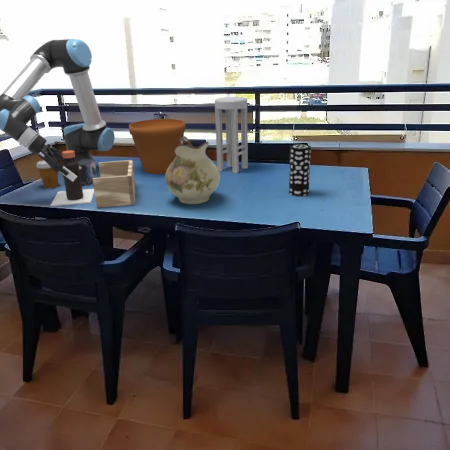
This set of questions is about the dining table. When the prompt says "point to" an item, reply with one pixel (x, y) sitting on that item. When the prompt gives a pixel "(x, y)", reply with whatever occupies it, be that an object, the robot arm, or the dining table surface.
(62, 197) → the mat
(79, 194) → the vinegar
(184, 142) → the pitcher
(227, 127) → the stool
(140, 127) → the flowerpot
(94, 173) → the small box
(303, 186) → the white-spotted black cylinder
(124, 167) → the crate
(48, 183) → the disposable coffee cup
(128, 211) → the dining table surface
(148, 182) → the dining table surface
